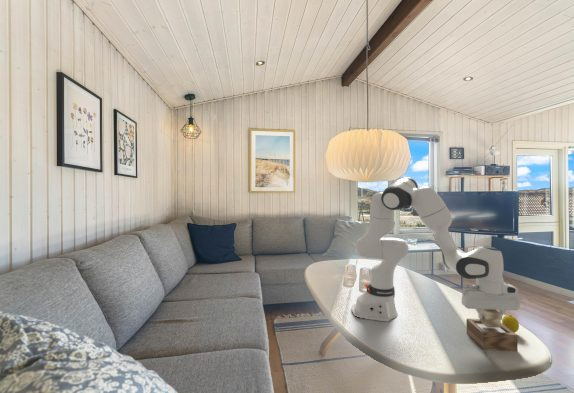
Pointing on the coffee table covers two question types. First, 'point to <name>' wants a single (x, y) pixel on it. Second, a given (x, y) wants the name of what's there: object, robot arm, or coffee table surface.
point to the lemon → (510, 323)
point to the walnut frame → (492, 336)
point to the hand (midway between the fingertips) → (490, 318)
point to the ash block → (491, 318)
